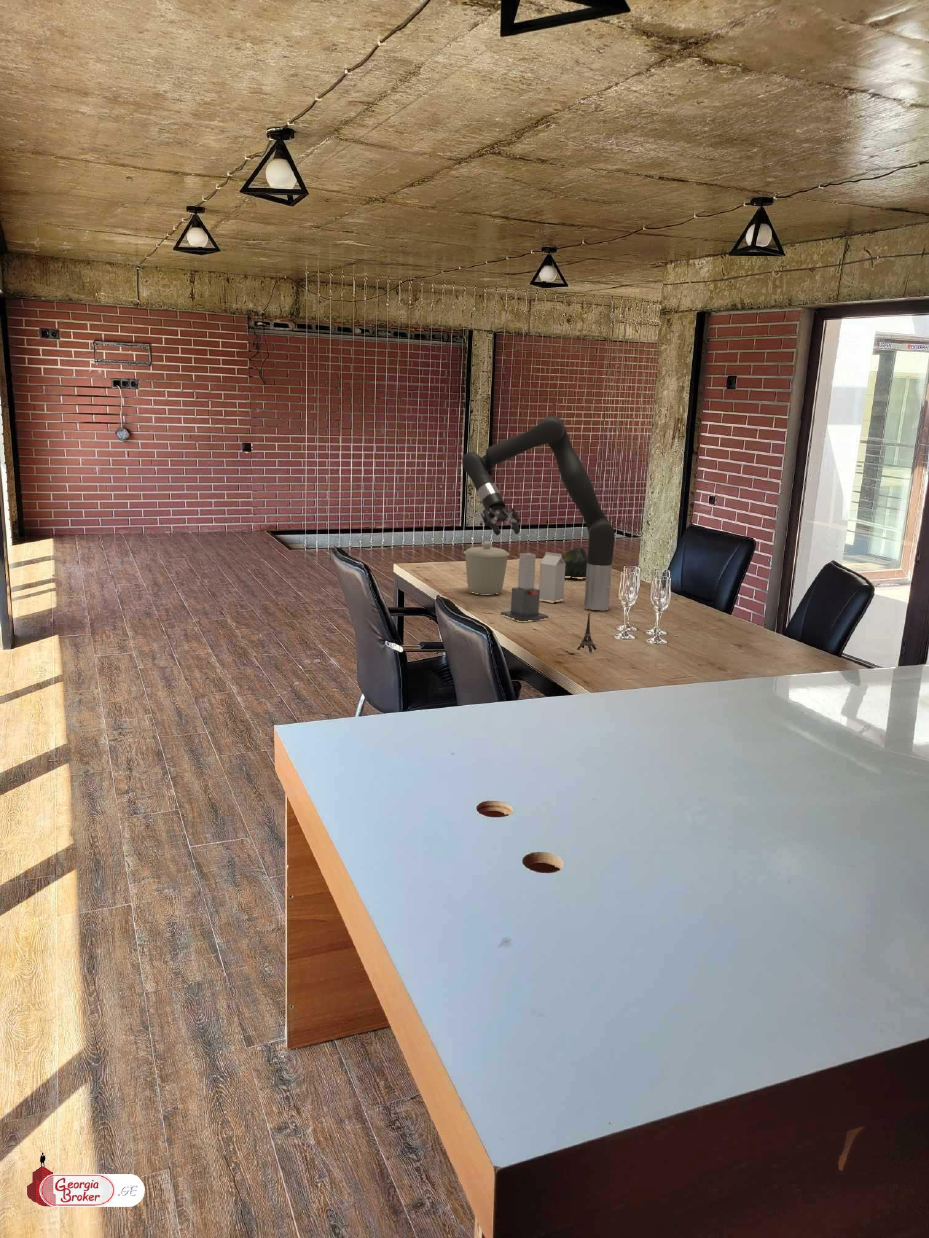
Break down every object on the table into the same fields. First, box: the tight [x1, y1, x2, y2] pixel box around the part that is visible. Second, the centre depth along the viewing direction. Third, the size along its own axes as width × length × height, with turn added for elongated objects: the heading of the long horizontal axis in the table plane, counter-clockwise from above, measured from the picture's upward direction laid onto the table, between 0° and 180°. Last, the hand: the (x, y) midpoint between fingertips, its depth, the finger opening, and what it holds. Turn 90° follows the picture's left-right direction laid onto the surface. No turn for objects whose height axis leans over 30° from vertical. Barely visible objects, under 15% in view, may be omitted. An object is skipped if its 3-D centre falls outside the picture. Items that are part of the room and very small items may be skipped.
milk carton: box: [538, 551, 566, 601], centre depth 357 cm, size 7×7×19 cm
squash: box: [561, 547, 588, 577], centre depth 409 cm, size 14×15×15 cm
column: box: [517, 552, 537, 591], centre depth 325 cm, size 4×4×16 cm
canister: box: [463, 540, 510, 594], centre depth 368 cm, size 18×18×21 cm
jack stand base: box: [500, 586, 549, 621], centre depth 328 cm, size 12×12×10 cm
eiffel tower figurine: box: [567, 612, 597, 654], centre depth 286 cm, size 15×10×13 cm
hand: (508, 533), depth 332 cm, fingers open, 8 cm apart
